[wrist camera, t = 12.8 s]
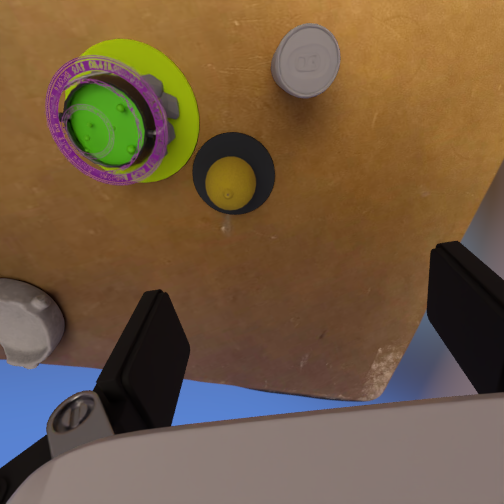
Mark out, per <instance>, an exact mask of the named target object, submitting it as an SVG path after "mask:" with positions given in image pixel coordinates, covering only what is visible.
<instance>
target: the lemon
mask: <svg viewBox="0 0 504 504" xmlns="http://www.w3.org/2000/svg"><path fill="white" fill-rule="evenodd" d="M205 187H206V191H207V195H208V196H209V198H210V200H211V201H212V202H213V203H214V204H215V205H216V206H218V207H219V208H222V209H224V210H236V209H239V208H242V207H243V206H245V205H246V204H247V203H248V202H249V201H250V200H251V198H252V196H253V194H254V192H255V188H256V177H255V174H254V171H253V169H252V168H251V166H250V165H249V164H248V163H247V162H246V161H244V160H242V159H241V158H238V157H224V158H221V159H219V160H217V161H216V162H215V163H214V164H213V165H212V166H211V167H210V169H209V171H208V172H207V176H206V180H205Z"/></svg>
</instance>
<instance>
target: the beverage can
mask: <svg viewBox="0 0 504 504" xmlns="http://www.w3.org/2000/svg"><path fill="white" fill-rule="evenodd" d="M339 65H340V49H339V46H338V43H337V40H336V39H335V37H334V36H333V34H332V33H331V32H330V31H329V30H328V29H326V28H325V27H323V26H321V25H318V24H312V23H306V24H303V25H299V26H297V27H295V28H294V29H292V30H290V31H289V32H288V33H287V34H286V35H285V36H284V38H283V39H282V41H281V43H280V44H279V46H278V48H277V50H276V52H275V53H274V55H273V58H272V62H271V72H272V76H273V79H274V81H275V82H276V83H277V85H278V86H279V87H281V88H282V89H283V90H284V91H286V92H287V93H289V94H290V95H292V96H295V97H298V98H311V97H315V96H317V95H319V94H321V93H323V92H324V91H325V90H326V89H327V88H328V87H329V86H330V85H331V83H332V82H333V81H334V79H335V77H336V75H337V72H338V70H339Z"/></svg>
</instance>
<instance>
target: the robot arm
mask: <svg viewBox="0 0 504 504" xmlns="http://www.w3.org/2000/svg"><path fill="white" fill-rule="evenodd" d="M427 316H428V319H429V321H430V322H431V324H432V325H433V327H434V328H435V330H436V331H437V333H438V334H439V336H440V337H441V339H442V340H443V342H444V343H445V345H446V346H447V348H448V349H449V351H450V352H451V354H452V355H453V357H454V358H455V360H456V361H457V363H458V364H459V366H460V367H461V369H462V370H463V371H464V373H465V374H466V376H467V377H468V379H469V380H470V382H471V383H472V385H473V386H474V388H475V389H476V391H477V392H478V394H477V395H465V396H453V397H443V398H432V399H422V400H413V401H402V402H393V403H382V404H372V405H362V406H354V407H353V406H352V407H343V408H333V409H324V410H314V411H305V412H295V413H286V414H276V415H267V416H259V417H249V418H241V419H231V420H222V421H213V422H204V423H195V424H186V425H178V426H171V424H172V420H173V416H174V413H175V409H176V405H177V401H178V397H179V393H180V389H181V386H182V382H183V378H184V374H185V370H186V366H187V362H188V359H189V355H190V345H189V342H188V340H187V338H186V335H185V333H184V330H183V328H182V326H181V323H180V321H179V319H178V316H177V314H176V312H175V309H174V307H173V304H172V302H171V300H170V297H169V295H168V293H166V292H164V293H163V291H162V290H160V289H159V290H152V291H146V292H145V293H144V294H143V296H142V297H141V299H140V301H139V303H138V305H137V307H136V309H135V310H134V312H133V314H132V316H131V318H130V320H129V322H128V323H127V325H126V327H125V329H124V331H123V333H122V335H121V336H120V338H119V340H118V342H117V344H116V346H115V348H114V349H113V351H112V353H111V355H110V357H109V359H108V361H107V362H106V364H105V366H104V368H103V370H102V372H101V374H100V375H99V377H98V379H97V381H96V383H97V384H96V386H95V388H94V390H93V391H90V390H89V391H82V392H78V393H76V394H74V395H72V396H70V397H68V398H67V399H66V400H64V401H63V402H62V403H61V404H60V405H59V406H58V407H57V408H56V409H55V410H54V411H53V413H52V414H51V416H50V417H49V420H48V422H47V427H46V431H47V435H45V436H44V437H43V438H41V439H40V440H38V441H37V442H36V443H34V444H33V445H32V446H30V447H29V448H27V449H26V450H25V451H23V452H22V453H21V454H20V455H18V456H17V457H15V458H14V459H12V460H11V461H10V462H8V463H7V464H6V465H4V466H3V467H1V468H0V504H504V280H503V279H502V278H501V277H499V276H498V275H497V274H496V273H495V272H494V271H492V270H491V269H490V268H489V267H488V266H487V265H485V264H484V263H483V262H482V261H481V260H480V259H478V258H477V257H476V256H475V255H474V254H473V253H471V252H470V251H469V250H468V249H467V248H466V247H464V246H463V245H462V244H461V243H460V242H458V241H452V242H445V243H439V244H437V245H436V248H435V249H432V250H431V253H430V268H429V284H428V299H427Z"/></svg>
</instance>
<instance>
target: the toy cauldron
mask: <svg viewBox="0 0 504 504" xmlns="http://www.w3.org/2000/svg"><path fill="white" fill-rule="evenodd" d="M75 59H77V60H76V61H73V62H71V61H72V60H71V61H69V62H70V64H72V63H74V62H75V64H74V65H72V66H70V67H69V68H67V69H66V70H65V71H64V72H63V73H62V74H61V75H62V76H61V75H60V76H59V77H58V79H57V80H56V82H55V84H54V86H55V87H57V90H56V89H55V87H54V86H53V89H52V92H51V95H52V94H53V95H54V96H53V95H52V96H53V97H51V96H50V105H49V106H50V107H49V108H50V119H47V121H48V120H49V123H50V120H51V124H50V127H51V125H52V127H51V130H50V131H52V132H51V134H52V133H53V134H52V136H53V135H54V137H55V136H56V137H57V139H58V141H59V142H58V141H57V139H56V137H55V138H54V137H53V138H54V140H55V139H56V140H55V142H56V141H57V142H56V144H58V145H57V146H58V147H59V146H60V148H61V150H62V151H61V152H62V153H63V152H64V151H65V152H66V153H67V154H65V152H64V154H65V155H66V156H65V155H64V154H63V155H64V156H65V157H66V158H67V157H68V158H69V157H70V158H71V159H72V158H73V159H72V160H73V161H74V162H75V163H76V164H77V162H78V163H79V164H77V165H78V166H79V167H81V168H82V169H83V170H85V171H86V172H88V171H91V172H90V174H92V175H94V176H96V177H98V178H101V177H102V176H103V174H104V175H105V176H106V174H107V176H106V177H107V178H105V176H103V177H102V178H101V179H104V180H108V181H113V180H114V181H113V182H126V181H132V183H131V182H126V183H127V184H126V183H125V185H129V184H128V183H131V184H134V183H133V182H135V183H137V182H144V183H146V182H154V181H159V180H162V179H165V178H168V177H169V176H171V175H173V174H174V173H176V172H178V171H179V170H180V169H181V168H182V167H183V166H184V165H185V164H186V163H187V161H188V160H189V158H190V157H191V155H192V154H193V151H194V149H195V146H196V144H197V140H198V135H199V112H198V106H197V101H196V99H195V96H194V93H193V91H192V88H191V86H190V84H189V83H188V81H187V79H186V78H185V76H184V74H183V73H182V72H181V71H180V69H179V68H178V67H177V66H176V65H175V63H174V62H173V61H171V60H170V59H169V58H168V57H167V56H165V55H164V54H163V53H162V52H160V51H159V50H157V49H155V48H153V47H151V46H150V45H148V44H145V43H142V42H138V41H135V40H129V39H113V40H107V41H103V42H101V43H98V44H96V45H94V46H92V47H90V48H89V49H88V50H87V51H85V52H84V53H83V54H82V55H81V56H80V57H78V58H75ZM75 59H73V60H75ZM69 62H67V63H68V65H67V63H66V64H64V65H67V66H69V65H70V64H69ZM64 65H63V66H64ZM63 66H62V67H63ZM67 66H65V67H63V69H62V70H64V69H65V68H66V67H67ZM62 67H61V68H62ZM61 68H60V69H61ZM60 69H59V70H60ZM59 70H58V71H59ZM62 70H61V71H62ZM58 71H57V72H58ZM61 71H59V73H58V74H56V73H57V72H56V73H55V75H57V76H58V75H59V74H60V73H61ZM66 71H67V72H68V73H69V74H68V73H66V74H67V75H65V72H66ZM55 75H54V76H55ZM64 75H65V76H67V77H68V78H67V77H65V76H64ZM68 75H69V76H68ZM54 76H53V78H54ZM57 76H55V78H54V80H53V83H54V81H55V79H56V78H57ZM64 77H65V78H66V79H67V80H66V79H65V78H64ZM53 78H52V79H53ZM59 78H61V79H60V81H63V84H62V82H60V81H59ZM64 80H65V81H66V82H65V81H64ZM57 81H58V82H59V83H60V84H58V82H57ZM51 82H52V80H51ZM51 82H50V84H52V85H53V83H51ZM50 84H49V86H51V87H50V89H49V87H48V89H49V90H50V91H51V88H52V85H50ZM56 84H57V85H58V86H59V85H60V86H59V87H58V86H57V85H56ZM61 86H62V87H61ZM60 87H61V88H60ZM58 89H59V90H58ZM63 90H66V91H65V103H64V111H63V113H58V103H59V99H60V95H61V93H62V92H63ZM50 91H49V93H48V91H47V94H49V95H50ZM49 95H48V97H47V95H46V101H47V98H48V102H49ZM51 100H52V101H51ZM57 100H58V102H57ZM48 102H47V103H48ZM56 104H57V105H56ZM56 106H57V107H56ZM47 111H48V104H47ZM47 111H46V116H47V113H48V118H49V111H48V112H47ZM51 111H52V112H51ZM44 113H45V111H44ZM53 115H55V116H53ZM54 117H56V118H54ZM59 121H60V122H63V123H64V125H65V127H63V128H65V130H66V131H65V132H67V135H68V137H69V139H70V141H71V142H72V144H73V145H74V146H75V147H76V149H77V150H78V151H79V152H80V153H81V154H82V155H83V156H84V157H86V158H87V159H89V160H90V161H92V162H93V163H95V164H98V165H99V166H100V167H102V168H103V169H105V170H106V172H109V173H106V172H105V171H104V172H102V170H100V171H99V170H97V168H96V169H95V167H94V168H93V167H91V166H90V165H88V164H87V163H85V162H84V161H83V160H81V159H80V158H79V157H78V156H77V155H76V154H75V152H76V151H75V150H76V149H75V148H74V149H75V150H74V149H73V148H72V147H73V146H72V147H71V146H70V145H69V144H68V143H67V141H66V139H65V137H64V135H65V134H63V133H62V132H63V131H62V130H61V127H62V123H61V127H60V123H59ZM49 123H48V125H49ZM55 123H56V124H58V125H55ZM56 126H58V127H57V128H59V130H60V132H57V131H58V130H56V129H57V128H56ZM47 127H48V126H47ZM50 127H49V129H50ZM52 128H53V129H52ZM53 130H54V131H55V132H53ZM59 137H60V138H61V140H60V139H59ZM62 137H63V138H64V139H63V138H62ZM64 141H65V142H64ZM70 141H69V142H70ZM63 142H64V143H63ZM59 144H60V145H59ZM63 144H64V145H63ZM70 144H71V143H70ZM65 145H66V146H67V147H68V149H71V148H72V149H73V150H74V151H75V152H74V151H73V150H72V149H71V151H70V150H68V149H66V147H65ZM60 148H59V149H60ZM59 149H58V150H59ZM63 149H64V151H63ZM68 151H69V152H68ZM70 152H71V153H70ZM68 153H69V154H68ZM78 154H79V153H78ZM75 155H76V156H75ZM74 156H75V157H76V158H77V157H78V158H77V159H75V158H74ZM68 158H67V159H68ZM70 158H69V160H71V159H70ZM78 160H80V162H79V161H78ZM71 162H72V161H71ZM82 162H83V163H82ZM72 163H73V162H72ZM75 163H74V164H75ZM84 163H85V164H84ZM76 164H75V165H76ZM83 164H84V165H83ZM77 165H76V166H77ZM87 165H88V166H87ZM76 166H75V167H76ZM78 166H77V167H76V168H77V169H78V168H79V167H78ZM84 166H85V167H84ZM86 166H87V167H86ZM89 166H90V167H89ZM81 168H79V169H81ZM84 168H85V169H84ZM79 169H78V170H79ZM82 169H81V170H82ZM90 169H92V170H90ZM81 170H80V171H81ZM83 170H82V171H83ZM93 170H94V171H93ZM82 171H81V172H82ZM85 171H84V174H85V173H86V172H85ZM88 173H89V172H88ZM88 173H86V175H87V174H88ZM90 174H88V175H90ZM101 174H102V175H101ZM88 175H87V176H88ZM108 175H109V176H110V175H111V176H110V177H111V179H110V177H109V176H108ZM114 175H115V176H117V177H115V178H114ZM90 176H91V175H90ZM90 176H89V177H90ZM100 176H101V177H100ZM92 177H93V176H92ZM92 177H91V178H92ZM96 177H93V179H94V178H95V180H96ZM108 177H109V179H110V180H109V179H108ZM98 178H97V179H98ZM118 178H119V181H117V180H116V179H118ZM120 178H121V179H120ZM101 179H99V180H101ZM112 179H113V180H112ZM99 180H98V181H99ZM104 180H102V181H104ZM122 180H123V181H122ZM102 181H100V182H102ZM108 181H106V182H108ZM113 182H110V183H112V185H116V184H117V183H116V184H115V183H114V184H113ZM103 183H105V182H103ZM107 184H109V182H108V183H107ZM118 184H122V183H118ZM123 184H124V183H123Z"/></svg>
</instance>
